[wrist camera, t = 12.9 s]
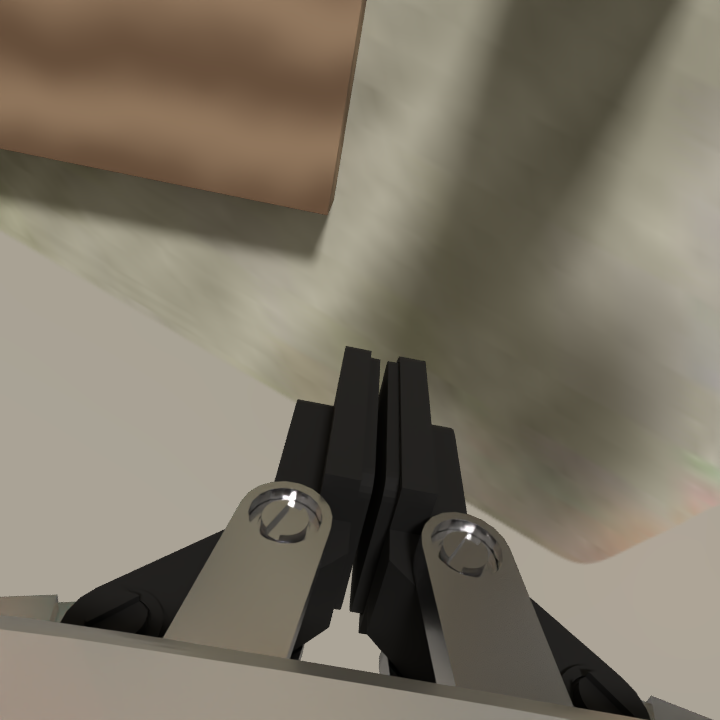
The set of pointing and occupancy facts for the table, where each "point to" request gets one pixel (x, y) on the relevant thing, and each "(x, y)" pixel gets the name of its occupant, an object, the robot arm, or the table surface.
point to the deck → (185, 90)
